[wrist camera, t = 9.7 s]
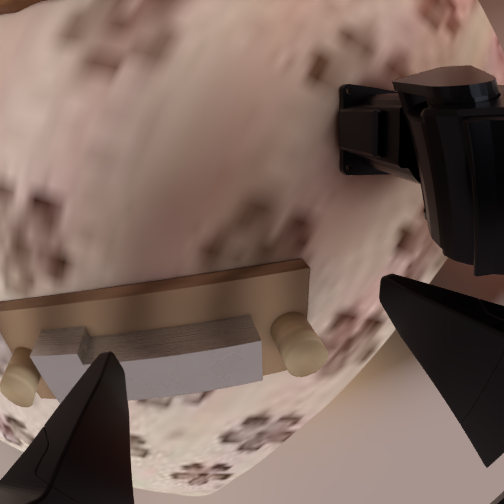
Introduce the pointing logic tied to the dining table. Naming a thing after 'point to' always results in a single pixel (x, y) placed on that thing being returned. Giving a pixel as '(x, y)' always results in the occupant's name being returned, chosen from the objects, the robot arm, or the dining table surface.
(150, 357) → the grey stepped block
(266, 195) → the dining table surface
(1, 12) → the plant
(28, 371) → the peg rack
